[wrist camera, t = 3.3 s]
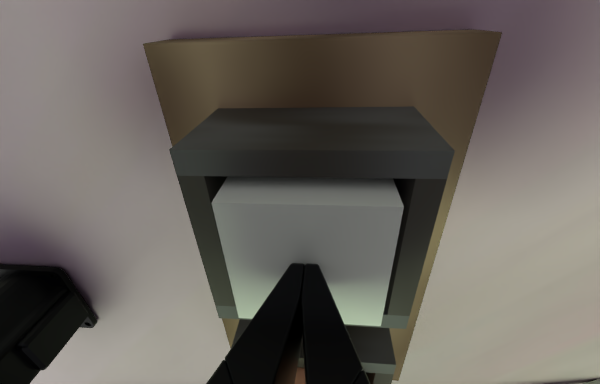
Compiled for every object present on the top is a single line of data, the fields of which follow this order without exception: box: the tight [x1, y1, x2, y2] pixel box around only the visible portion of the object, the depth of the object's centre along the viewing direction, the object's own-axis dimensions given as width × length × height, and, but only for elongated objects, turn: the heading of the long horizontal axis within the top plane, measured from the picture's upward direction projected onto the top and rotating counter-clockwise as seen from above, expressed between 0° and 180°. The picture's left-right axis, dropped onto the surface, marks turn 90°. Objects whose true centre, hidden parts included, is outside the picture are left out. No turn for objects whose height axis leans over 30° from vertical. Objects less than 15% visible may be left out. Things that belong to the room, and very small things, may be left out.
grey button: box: [212, 176, 404, 326], centre depth 10 cm, size 5×5×4 cm
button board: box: [143, 30, 502, 384], centre depth 15 cm, size 12×22×6 cm, turn 2°
